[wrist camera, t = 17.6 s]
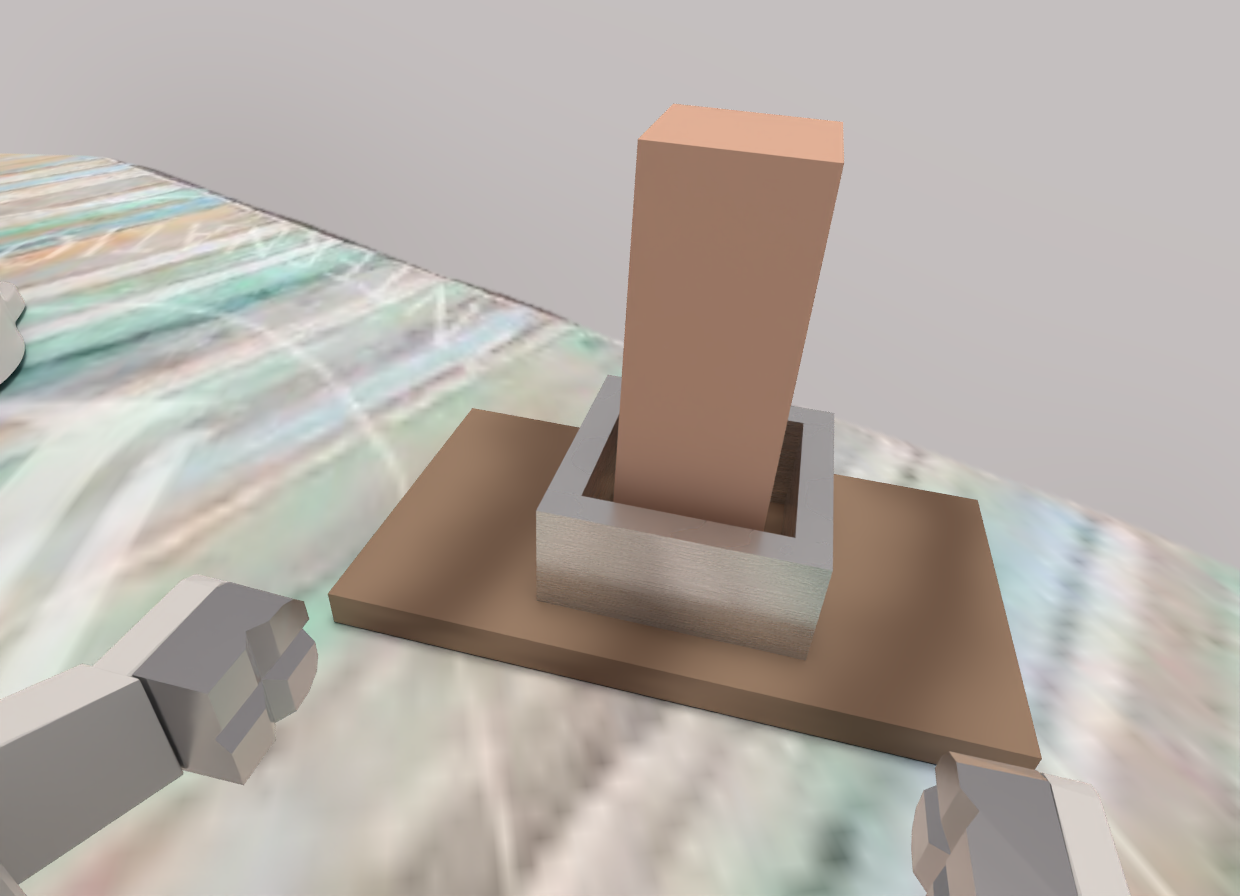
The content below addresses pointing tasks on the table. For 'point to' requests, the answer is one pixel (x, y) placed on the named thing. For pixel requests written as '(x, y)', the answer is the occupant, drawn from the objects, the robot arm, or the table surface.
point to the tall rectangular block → (719, 305)
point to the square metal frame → (690, 544)
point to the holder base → (699, 667)
